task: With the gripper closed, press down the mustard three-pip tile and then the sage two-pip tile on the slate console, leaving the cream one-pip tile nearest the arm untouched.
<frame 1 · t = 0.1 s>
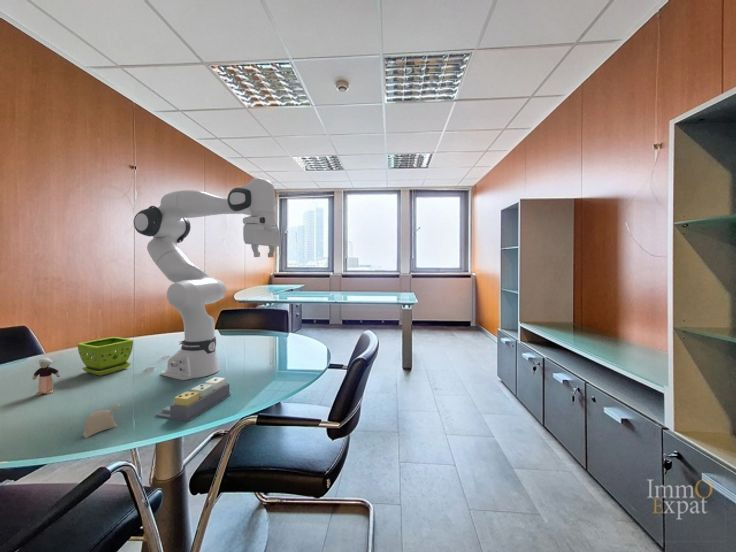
hand: (264, 257, 118), 48 cm above the table, fingers open, 8 cm apart
tile one: (215, 384, 103), point 4 cm above the table, slide at 0.0 cm
decorative ornament: (102, 430, 84), on the table
grandmother figurine: (46, 393, 107), on the table
tile two: (202, 392, 97), point 4 cm above the table, slide at 0.0 cm
flower pot: (107, 371, 129), on the table
tile three: (186, 400, 91), point 4 cm above the table, slide at 0.0 cm
console: (195, 404, 98), on the table
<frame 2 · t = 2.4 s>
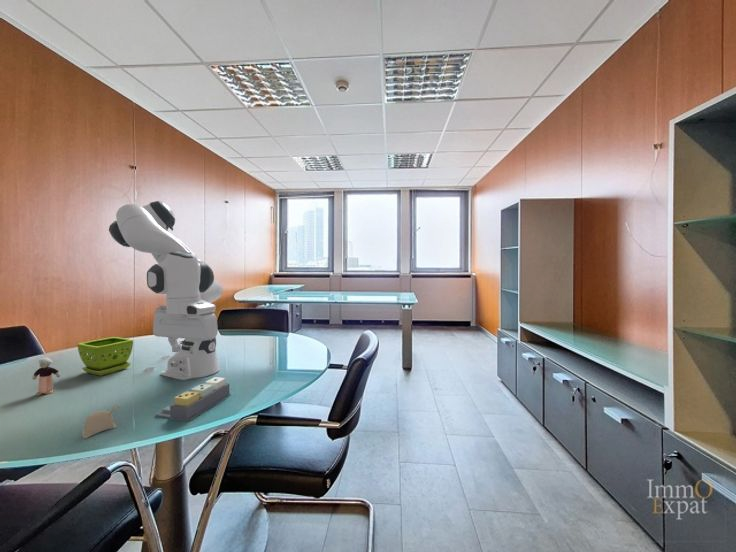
hand: (185, 352, 91), 19 cm above the table, fingers open, 5 cm apart
nothing on the table moved.
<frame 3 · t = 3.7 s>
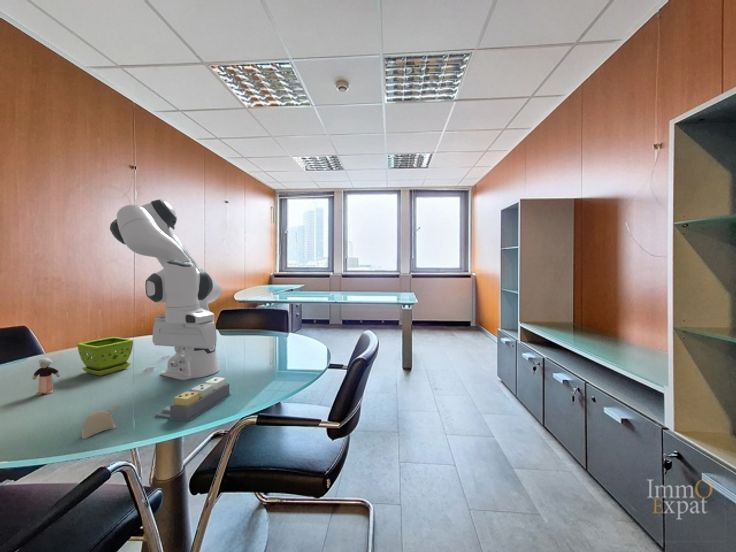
hand: (184, 361, 91), 17 cm above the table, fingers closed
nothing on the table moved.
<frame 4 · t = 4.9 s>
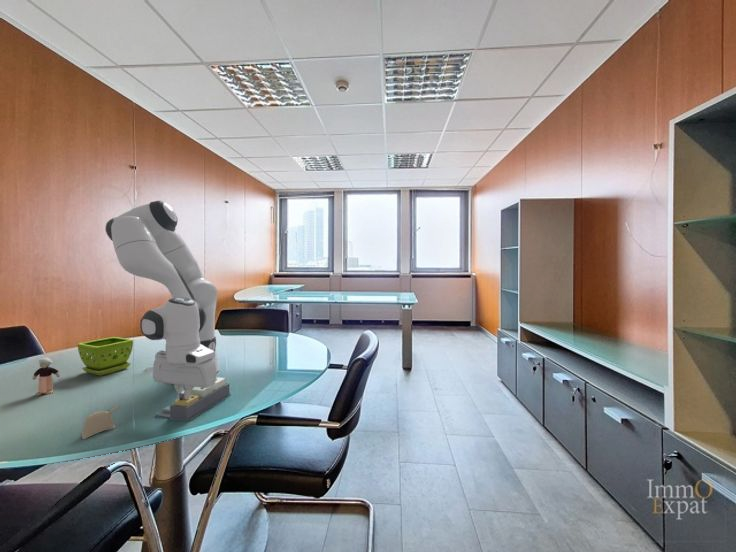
hand: (184, 398, 91), 5 cm above the table, fingers closed, pressing on tile three
tile three: (186, 403, 91), point 3 cm above the table, slide at 1.0 cm, touching gripper
everything else where it was.
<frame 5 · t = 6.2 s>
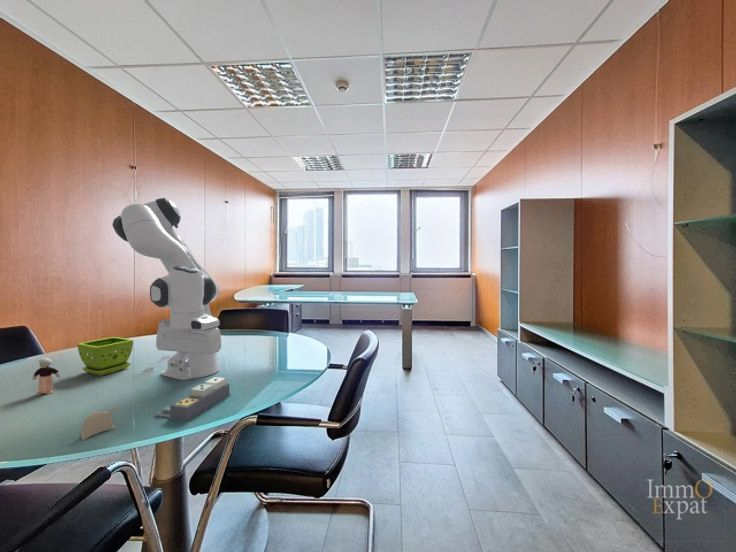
hand: (188, 366, 91), 15 cm above the table, fingers closed
tile three: (187, 407, 92), point 2 cm above the table, slide at 2.0 cm
everything else where it was.
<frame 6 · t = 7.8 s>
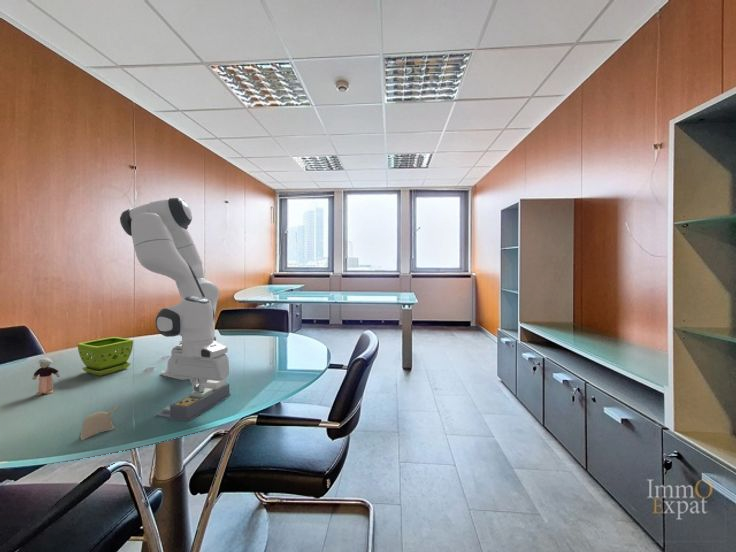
hand: (198, 390, 97), 5 cm above the table, fingers closed, pressing on tile two
tile two: (202, 395, 97), point 3 cm above the table, slide at 1.2 cm, touching gripper
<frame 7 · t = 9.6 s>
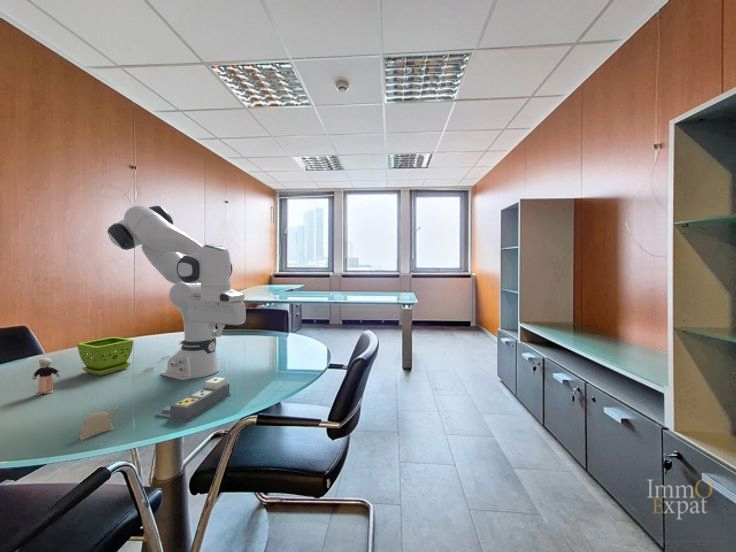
hand: (216, 336, 100), 22 cm above the table, fingers closed
tile two: (202, 398, 97), point 2 cm above the table, slide at 2.0 cm
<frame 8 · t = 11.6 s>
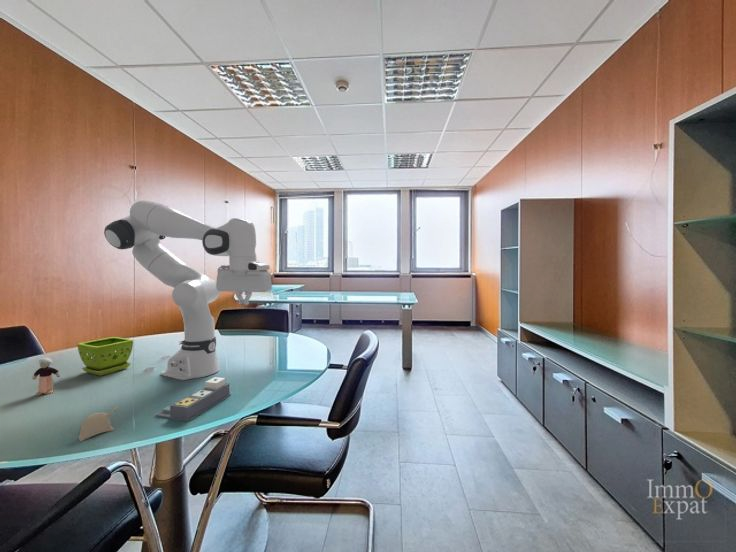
hand: (243, 304, 107), 31 cm above the table, fingers closed
at the end: tile three slide at 2.0 cm; tile two slide at 2.0 cm; tile one slide at 0.0 cm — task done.
